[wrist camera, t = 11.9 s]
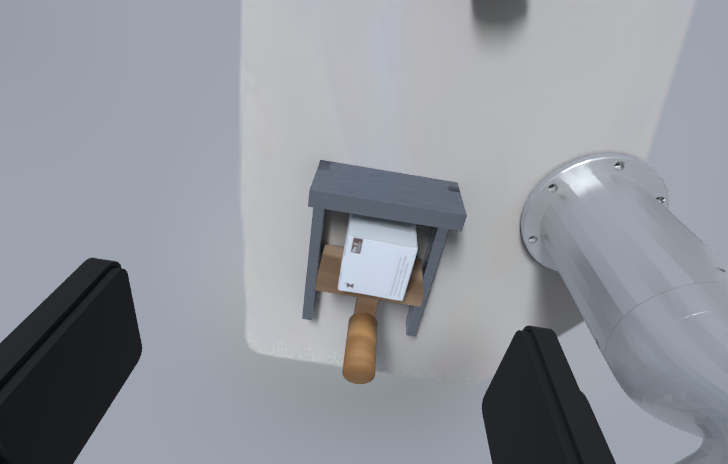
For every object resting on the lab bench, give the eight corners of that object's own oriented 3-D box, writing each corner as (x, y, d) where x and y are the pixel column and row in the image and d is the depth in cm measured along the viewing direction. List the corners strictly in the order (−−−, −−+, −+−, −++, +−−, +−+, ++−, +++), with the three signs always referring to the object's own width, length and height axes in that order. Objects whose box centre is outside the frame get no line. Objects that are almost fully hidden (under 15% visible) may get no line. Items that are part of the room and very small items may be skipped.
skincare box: (402, 254, 44) (403, 303, 37) (344, 245, 43) (336, 292, 37) (415, 204, 40) (419, 248, 34) (352, 193, 40) (345, 236, 34)
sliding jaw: (408, 303, 47) (412, 392, 37) (319, 289, 46) (299, 375, 37) (420, 259, 43) (428, 344, 34) (325, 244, 43) (305, 325, 33)
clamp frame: (414, 323, 49) (416, 364, 44) (305, 306, 48) (295, 346, 43) (457, 182, 39) (466, 215, 34) (320, 160, 38) (309, 190, 33)
